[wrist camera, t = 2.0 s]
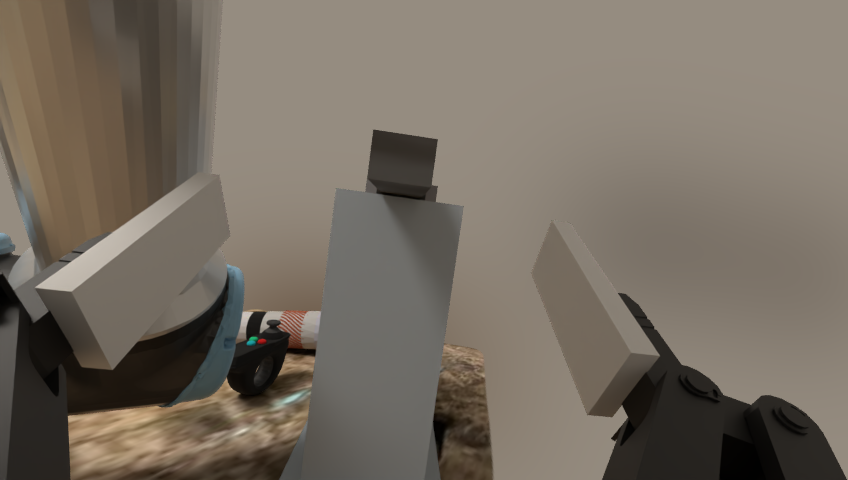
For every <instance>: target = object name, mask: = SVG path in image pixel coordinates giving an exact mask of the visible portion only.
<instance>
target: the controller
mask: <svg viewBox="0 0 848 480" xmlns="http://www.w3.org/2000/svg"><path fill="white" fill-rule="evenodd" d="M266 324H267V325H269V327H268V328H267V329H265V330H264V331H263V332H262V333H259V334H256V335H253V336H252V337H251V338H249V339H247V340H244V341H242V342H240V343H237V344H236V348H235V353H234V357H233V360H232V363H231V366H230V369H229V372H228V375H227V380H228V383H229V385H230V387H231V388H232V389H233V390H235V391H237V392H239V393H242V394H246V395H255V394H258V393H261V392H263V391H264V390H266V389H267V388H268V387H269V386H270V385H271V384H272V383H273V382H274V380H275V379H276V377H277V376H278V374H279V372H280V370H281V368H282V365H283V362H284V359H285V355H286V351H287V348H288V345H289V337H290V336H291V334H290V333H288V332H285V331H281V330H280V329H279V328H278V327H277V326H279V325H280V324H281V321H279V320H268V321H267V323H266ZM258 366H259V367H258ZM257 368H258V370H257ZM256 370H257V372H256Z"/></svg>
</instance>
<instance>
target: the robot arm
mask: <svg viewBox="0 0 848 480" xmlns="http://www.w3.org/2000/svg"><path fill="white" fill-rule="evenodd" d="M222 4H223V0H0V152H1V154H2V158H3V161H4V164H5V166H6V170H7V172H8V176H9V179H10V182H11V185H12V188H13V191H14V194H15V197H16V200H17V203H18V206H19V209H20V212H21V215H22V218H23V222H24V225H25V228H26V230H27V233H28V237H29V240H30V243H31V247H30V248H29V249H27V250H26V252H24V254H23V255H22V256H18V255H13V254H12V252H13V251H14V250H15V245H14V244H12V241H11V239H10V237H9V236H8V235H6V234H4V233H0V480H70V458H69V435H68V416H70V415H79V414H88V413H97V412H106V411H115V410H124V409H133V408H142V407H150V406H159V407H172V406H173V405H176V404H178V403H181V402H188V401H194V400H201V399H204V398H207V397H209V396H211V395H212V394H214V393H215V392H216V391H217V390H218V389H219V388H220V387H221V386H222V384H223V383H224V381H225V379H226V377H227V375H228V372H229V369H230V366H231V363H232V360H233V357H234V353H235V348H236V338H237V336H238V333H239V329H240V325H241V319H242V312H243V304H244V276H243V273H242V271H241V270H240V269H239V268H237V267H234V266H230V265H229V264H226V260H225V257H224V254H223V252H222V251H221V249H220V247H221V246H222V245H223V244H224V242H225V241H226V240H227V239H228V238H229V237H230V231H229V225H228V220H227V214H226V209H225V203H224V198H223V192H222V187H221V181H220V176H219V175H215V174H211V171H212V156H213V155H212V154H213V139H214V125H215V109H216V93H217V79H218V64H219V49H220V34H221V33H220V32H221V18H222ZM531 274H532V277H533V279H534V282H535V284H536V287H537V289H538V292H539V294H540V296H541V299H542V302H543V304H544V307H545V309H546V312H547V314H548V317H549V319H550V322H551V324H552V327H553V330H554V332H555V335H556V337H557V340H558V342H559V345H560V347H561V350H562V352H563V355H564V357H565V360H566V362H567V365H568V367H569V370H570V372H571V375H572V377H573V380H574V382H575V385H576V387H577V390H578V392H579V395H580V398H581V400H582V403H583V405H584V408H585V410H586V413H587V415H594V416H605V417H613V416H614V414H615V413H616V412H617V411H618V409H619V408H620V407H621V405H623V408H624V410H625V412H626V414H627V416H628V419H627V420H626V421H625V422H624V423H623V425H622V426H621V427H620V428H619V429H618V431H617V432H616V433H615V434H614V436H613V437H612V438H611V439H612V440H614V441H616V440H617V441H616V444H615V446H614V449H613V452H612V455H611V457H610V460H609V463H608V465H607V468H606V471H605V473H604V476H603V479H602V480H847V479H846V477H845V475H844V473H843V471H842V469H841V467H840V465H839V463H838V461H837V459H836V457H835V455H834V453H833V451H832V449H831V447H830V445H829V444H828V441H827V439H826V438H825V436H824V434H823V432H822V431H821V430H820V428H819V427H818V425H817V424H816V423H815V422H814V421H813V420H812V419H811V418H810V417H808V416H807V414H806V413H804V412H803V411H802V410H800V409H799V408H797V407H796V406H794V405H792V404H790V403H788V402H786V401H785V400H783V399H780V398H777V397H774V396H770V395H765V396H761V397H760V398H759V399H757V400H756V401H755V402H754V403H753V404H752V405H750V404H747V403H744V402H741V401H738V400H736V399H733V398H730V397H727V396H724V395H723V394H722V393H721V391H720V389H719V388H718V386H717V385H715V384H714V383H713V382H712V381H711V380H710V379H709V378H708V377H706V376H705V375H703V374H702V373H700V372H699V371H697V370H695V369H693V368H690V367H688V366H683V365H681V363H680V362H679V361H678V359H677V358H676V357H675V355H674V354H673V352H672V351H671V350H670V348H669V347H668V345H667V344H666V343H665V341H664V340H663V338H662V337H661V336H660V334H659V333H658V331H657V330H654V326H653V325H652V323H651V322H650V320H648V319H647V316H646V315H645V313H644V312H643V311H642V309H641V308H640V306H639V305H638V304H637V303H635V302H634V301H633V300H632V299H631V298H630V297H628V296H627V295H626V294H622V293H617V291H616V290H615V288H614V287H613V285H612V284H611V283H610V281H609V280H608V278H607V277H606V275H605V274H604V272H603V271H602V269H601V268H600V266H599V265H598V263H597V262H596V260H595V259H594V258H593V256H592V255H591V253H590V251H589V250H588V248H587V247H586V246H585V244H584V243H583V241H582V240H581V238H580V237H579V235H578V234H577V232H576V231H575V229H574V228H573V227H572V225H571V223H569V222H561V221H554V220H552V222H551V224H550V227H549V229H548V232H547V234H546V237H545V239H544V242H543V245H542V247H541V249H540V252H539V254H538V257H537V259H536V262H535V265H534V267H533V269H532V272H531Z"/></svg>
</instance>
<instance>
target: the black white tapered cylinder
mask: <svg viewBox="0 0 848 480" xmlns="http://www.w3.org/2000/svg"><path fill="white" fill-rule="evenodd" d="M320 316H321V311H285V312H275V311H271V312H270V311H269V312H242V319H241V325H240V329H239V333H238V336H237V338H236V343H240V342H242V341H244V340H247V339H249V338H251V337H252V336H253V335H256V334H259V333H262V332H263V331H264V330H265V329H267V328H268V327H269V325H267V324H266V323H267V321H268V320H279V321H281V324H280V325H279V326H277V327H278V328H279V329H280V330H281V331H285V332H288V333H290V334H291V336H290V337H289V345H288V348H300V349H317V341H318V332H319V324H320Z"/></svg>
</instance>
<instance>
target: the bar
mask: <svg viewBox="0 0 848 480" xmlns="http://www.w3.org/2000/svg"><path fill="white" fill-rule="evenodd" d="M437 141H438V140H437V139H432V138H425V137H419V136H412V135H405V134H399V133H393V132H386V131H379V130H373V137H372V145H371V153H370V161H369V169H368V177H367V179H368V180H369V181H370V182H371V183H372V184H373V185H374V186H375V187H376V188H377V189H378V190H379V191H380V192H381V193H382V194H383V195H388V196H395V197H402V198H409V199H416V200H420V199H421V198H422V197H423V196H424V195H425V194H426V192H427V191H428V190H429V189H430V188H431V185H432V177H433V170H434V163H435V156H436V147H437Z"/></svg>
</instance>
